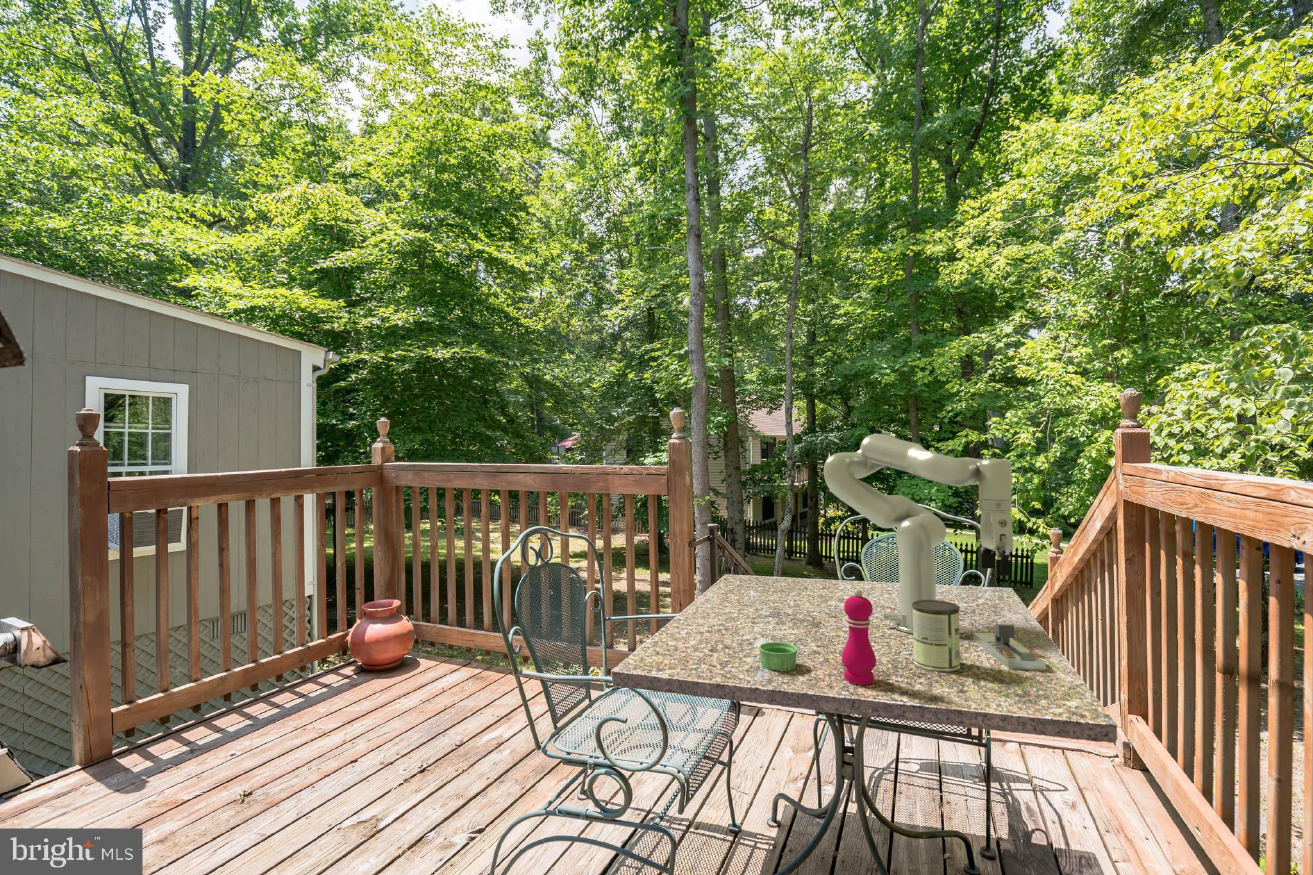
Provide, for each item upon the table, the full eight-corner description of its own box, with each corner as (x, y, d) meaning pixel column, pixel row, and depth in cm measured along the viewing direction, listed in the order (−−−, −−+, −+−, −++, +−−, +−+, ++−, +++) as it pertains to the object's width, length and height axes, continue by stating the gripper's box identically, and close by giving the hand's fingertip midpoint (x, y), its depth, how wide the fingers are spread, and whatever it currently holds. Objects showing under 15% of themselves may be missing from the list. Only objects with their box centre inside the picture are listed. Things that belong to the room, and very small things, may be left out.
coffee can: (911, 655, 160) (911, 598, 160) (957, 660, 156) (957, 601, 157) (913, 669, 150) (913, 607, 150) (962, 674, 147) (962, 611, 147)
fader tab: (999, 643, 162) (998, 624, 162) (996, 641, 164) (995, 622, 164) (1014, 643, 161) (1014, 625, 162) (1011, 641, 163) (1010, 622, 164)
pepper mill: (837, 675, 146) (836, 586, 147) (868, 674, 147) (867, 585, 147) (849, 686, 139) (848, 593, 139) (881, 685, 140) (880, 592, 140)
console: (1008, 668, 150) (1008, 653, 150) (972, 640, 173) (972, 626, 173) (1045, 670, 149) (1045, 654, 149) (1004, 641, 172) (1004, 627, 172)
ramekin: (774, 675, 147) (774, 655, 147) (751, 663, 155) (751, 645, 155) (805, 668, 151) (805, 649, 151) (781, 657, 159) (781, 639, 159)
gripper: (1024, 509, 161) (1025, 578, 161) (996, 503, 178) (996, 566, 178) (993, 509, 162) (993, 578, 162) (968, 503, 179) (968, 565, 179)
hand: (995, 571), depth 170 cm, fingers open, 9 cm apart
